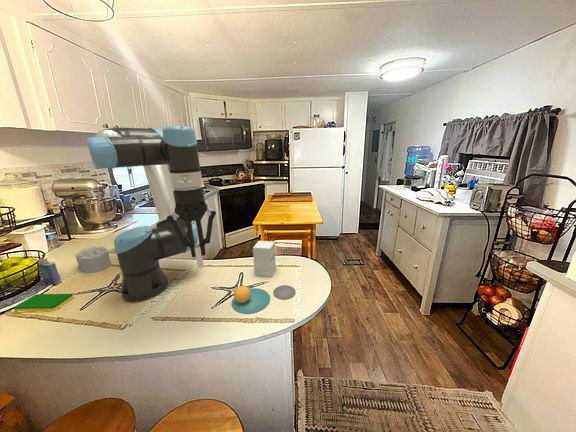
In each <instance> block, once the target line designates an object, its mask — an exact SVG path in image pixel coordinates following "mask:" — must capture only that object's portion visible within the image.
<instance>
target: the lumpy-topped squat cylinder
mask: <svg viewBox="0 0 576 432" xmlns="http://www.w3.org/2000/svg"><path fill="white" fill-rule="evenodd" d="M75 259H76V262H77V265H78V268H79V270H80V272H82V273H83V274H96V273H99V272H103V271H105V270H107V269H109V268H110V267H111V265H112V260H111V257H110V255H109V250H108V249H107V248H106V247H105V246H103V245H101V246H96V245H95V246H91V247H88V248H84V249H82V250H80V251H79V252H76V253H75Z"/></svg>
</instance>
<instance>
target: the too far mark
mask: <svg viewBox="0 0 576 432" xmlns="http://www.w3.org/2000/svg"><path fill="white" fill-rule="evenodd" d="M272 294H273V297H275V298H276V299H278V300H283V301H284V300H285V301H286V300H290V299H292V298H293V297H294V296H295V295H296V289H295V288H294V287H293V286H292V285H291V286H290V285H286V284H285V285H283V284H282V285H279V286H276V287H275V288H274V289H273V292H272Z"/></svg>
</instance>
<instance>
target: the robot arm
mask: <svg viewBox="0 0 576 432" xmlns="http://www.w3.org/2000/svg"><path fill="white" fill-rule="evenodd" d="M86 142H87V147H88V149H89V150H88V151H89V154H90V158H91V160H92V164H93V166H94V167H95V168H97V169H116V168H117V169H118V168H128V167H129V168H130V167H133V168H134V167H143V170H144V173H145V176H146V179H147V184H148V187H149V190H150V193H151V196H152V199H153V203H154V207H155V210H156V213H157V217H158V221H157V222H156V223H155V225H156V228H152V227H151V226H150V225H141V226H136V227H133V228H129V229H127V230H125V231H122V232H121V233H119V234H117V236H116V237H115V238H114V239H113V245H114V253H115V254H116V256H117V257H116V258H117V260H118V263H119V268H120V272H121V275H122V280H121V286H120V294H121V298H122V300H124V301H125V302H131V303H134V302H136V303H137V302H141V301H145V300H149V299H151V298H155V297H156V296H158V295H159V294H161V293H162V292H164V291H165V290H166V289H168V286H169V284H170V282H169V281H170V280H169V277H168V276H167V274H166V272H165V271H164V269H163V268H162V266H161V265H160V260H163V259H166V258H169V257H174V256H176V255H181V254H183V253H184V254H185V253H187V252H190V253H191V257H192V258H195V260H196V265H197V266H196V267H197V268H198V269H201V268H204V257H203V256H206V252H207V251H206V246H205V245H207V244H210V243H211V239H212V232H213V231H212V229H213V222H214V219H215V216H216V214H217V211H216V209H215V208H210V207H208V204H207V203H206V201H205V192H204V188H203V187H202V186H203V178H202V171H201V164H200V158H199V157H200V156H199V151H198V140H197V137H196V132H195V129H194V128H193V127H191V126H186V125H172V126H171V125H170V126H169V125H167V126H164V127H163V128H162V129H160V128H153V127H147V128H146V127H120V126H119V127H111V128H107V129H103V130H100V131H98V132H96V133H95V135H93V136H92V137H88V138H87V140H86ZM206 213H207V214H206ZM205 214H206V215H207V216H208V218H207V219H208V220H207V227H206V233H205V234H206V235H205V238H204V233H203V225H202V219H203V217H204V215H205Z"/></svg>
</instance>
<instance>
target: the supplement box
mask: <svg viewBox="0 0 576 432" xmlns="http://www.w3.org/2000/svg"><path fill="white" fill-rule="evenodd" d="M275 245H276V243H275V241H273V240H258V241H257V242H256V243H255V245H254V246H253V247H252V257H253V268H254V269H253V270H254V276H256V277H264V278H265V277H267V278H272V277H273V274H274V272H275V270H276V268H277V266H276V265H277V263H276V262H277V261H276V246H275Z"/></svg>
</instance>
